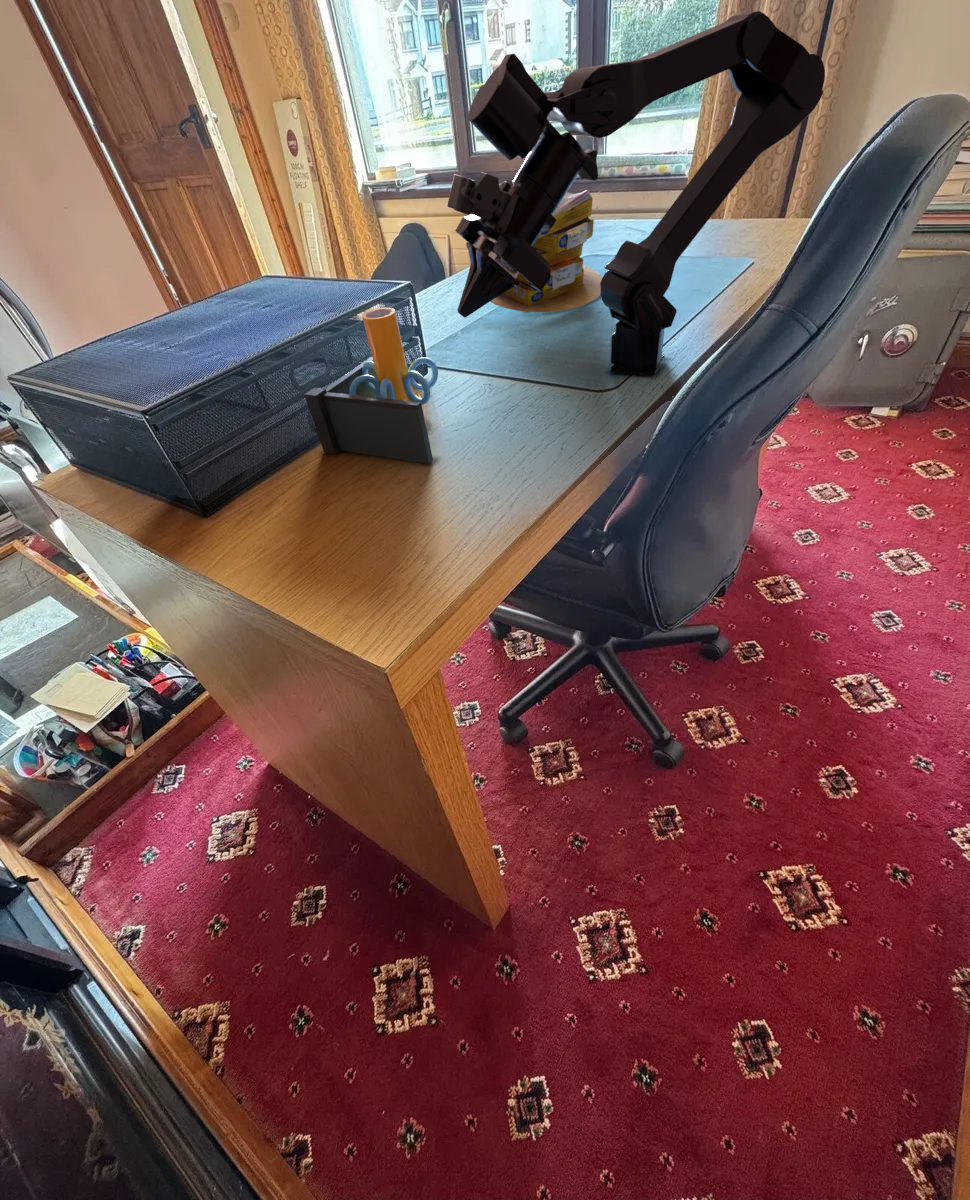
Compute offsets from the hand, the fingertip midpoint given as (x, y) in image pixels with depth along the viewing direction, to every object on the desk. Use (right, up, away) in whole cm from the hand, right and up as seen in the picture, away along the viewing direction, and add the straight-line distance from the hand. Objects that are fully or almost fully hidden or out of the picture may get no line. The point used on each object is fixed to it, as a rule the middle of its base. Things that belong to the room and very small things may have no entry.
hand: (461, 314), depth 71 cm
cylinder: (-8, -13, +7) cm, 16 cm away
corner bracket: (-8, -12, +7) cm, 16 cm away
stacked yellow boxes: (+15, +26, +43) cm, 53 cm away
